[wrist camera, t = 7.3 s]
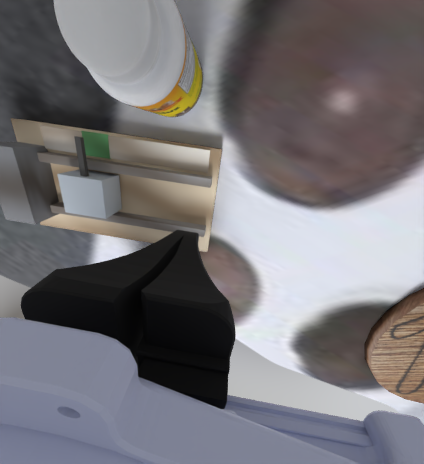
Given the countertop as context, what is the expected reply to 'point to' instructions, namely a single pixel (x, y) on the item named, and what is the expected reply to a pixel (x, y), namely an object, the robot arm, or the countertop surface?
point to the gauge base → (113, 162)
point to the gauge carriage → (89, 189)
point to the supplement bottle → (135, 51)
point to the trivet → (399, 348)
